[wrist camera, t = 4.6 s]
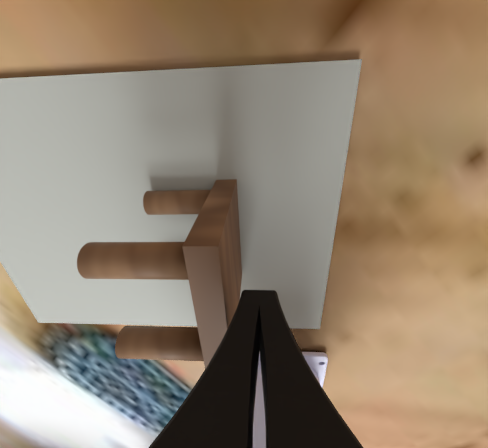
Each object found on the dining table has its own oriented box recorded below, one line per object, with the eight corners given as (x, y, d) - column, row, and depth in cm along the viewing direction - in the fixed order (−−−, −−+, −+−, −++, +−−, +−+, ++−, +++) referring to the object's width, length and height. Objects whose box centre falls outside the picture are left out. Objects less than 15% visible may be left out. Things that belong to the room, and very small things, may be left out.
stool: (236, 179, 14) (218, 246, 8) (242, 274, 17) (231, 374, 11) (149, 180, 14) (67, 246, 8) (170, 273, 18) (123, 369, 12)
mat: (319, 325, 20) (319, 329, 20) (41, 319, 22) (38, 322, 21) (359, 60, 11) (361, 59, 11) (-104, 84, 13) (-112, 84, 13)
